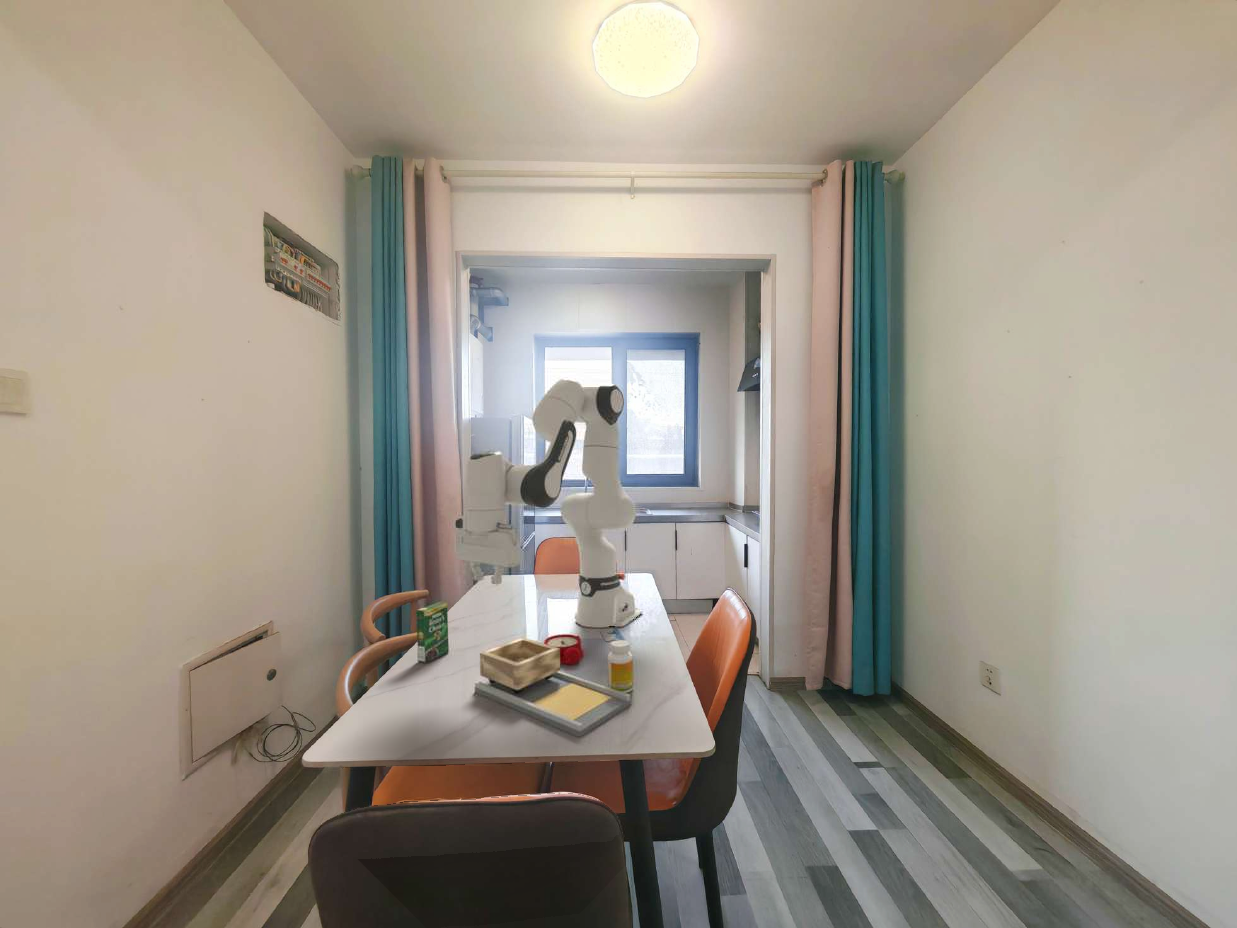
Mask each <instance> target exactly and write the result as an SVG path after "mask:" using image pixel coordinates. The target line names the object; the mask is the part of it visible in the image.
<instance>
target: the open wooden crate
mask: <svg viewBox="0 0 1237 928" xmlns="http://www.w3.org/2000/svg"><path fill="white" fill-rule="evenodd" d="M479 667H480V669H479V670H480V673H479V674H480V676H481V677H484V678H486V679H488V681H489V682H490V683H491V684H493V683H495V682H498V683H501V684H503V685H506V686H508V687H511V688H513V691H514V692H515V693H516V694H518V693H520V692H522V691H523V687H526V686H528V685H530V684H532V683H534V682H536V681H538V680H541V679H543V678H545V679H546V680H548V679H550V678H552V676H553V673H556V672H558V671H561V664H560V648H557V647H553V646H550V645H547V644H544V642H539V641H536V640H532V639H529V638H526V637H520V638H518V639H515V640H512V641H509V642H506V643H504V644H501V645H499V646H496V647H493V648H490V649H488V650H485V651H484V650H483V651H481V652H480V653H479Z"/></svg>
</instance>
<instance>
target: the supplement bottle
mask: <svg viewBox="0 0 1237 928" xmlns="http://www.w3.org/2000/svg"><path fill="white" fill-rule="evenodd" d="M609 649H610V652H609V653H608V654H607V687H608V688H611V689H614V690H617V691H620V692H623V693H626V694H628V693H629V692H632V691H633V690H634V668H633V667H634V666H633V665H634V663H633V662H634V660H633V657H634V656H633V654H632V652H630V643H629V641H627V640H623V639H622V640H621V639H619V640H618V639H617V640H613V641H611V642H610V647H609Z"/></svg>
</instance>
